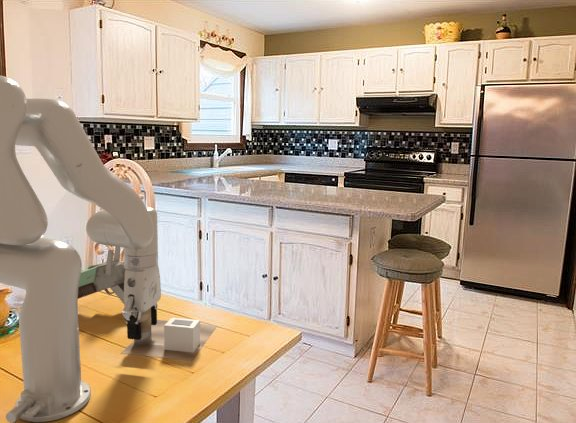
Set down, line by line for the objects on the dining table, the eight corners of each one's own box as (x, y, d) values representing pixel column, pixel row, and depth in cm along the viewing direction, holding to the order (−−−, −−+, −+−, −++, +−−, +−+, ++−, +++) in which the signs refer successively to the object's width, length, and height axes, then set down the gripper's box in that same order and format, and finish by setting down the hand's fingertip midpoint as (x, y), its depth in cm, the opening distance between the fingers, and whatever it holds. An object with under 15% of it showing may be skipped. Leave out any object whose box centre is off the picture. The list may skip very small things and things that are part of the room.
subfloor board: (191, 365, 99) (191, 360, 98) (120, 358, 101) (120, 353, 101) (217, 329, 117) (217, 325, 117) (156, 323, 120) (156, 319, 119)
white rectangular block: (193, 352, 102) (193, 327, 101) (164, 349, 103) (164, 324, 102) (199, 343, 107) (199, 319, 106) (172, 340, 108) (171, 317, 106)
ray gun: (152, 311, 121) (123, 244, 118) (49, 346, 125) (19, 282, 122) (161, 302, 128) (133, 238, 125) (63, 335, 132) (35, 274, 129)
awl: (147, 347, 104) (146, 311, 102) (131, 345, 105) (129, 309, 103) (154, 339, 108) (153, 304, 106) (139, 337, 108) (138, 303, 107)
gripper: (138, 272, 94) (140, 349, 97) (171, 251, 111) (172, 318, 114) (105, 269, 95) (108, 346, 98) (143, 249, 112) (144, 315, 115)
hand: (142, 330), depth 106 cm, fingers open, 7 cm apart
